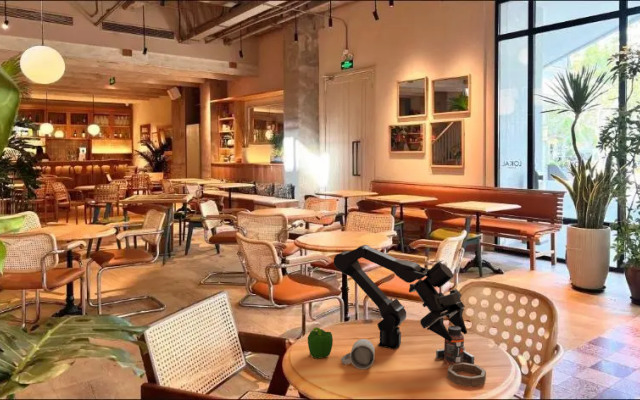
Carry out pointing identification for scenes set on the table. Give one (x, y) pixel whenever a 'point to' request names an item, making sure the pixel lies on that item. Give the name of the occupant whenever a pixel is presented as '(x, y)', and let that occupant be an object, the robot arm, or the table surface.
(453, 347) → the supplement bottle
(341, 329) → the table surface
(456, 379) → the walnut collar
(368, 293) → the robot arm
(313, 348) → the bell pepper
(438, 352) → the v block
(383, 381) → the table surface
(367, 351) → the ceramic mug
